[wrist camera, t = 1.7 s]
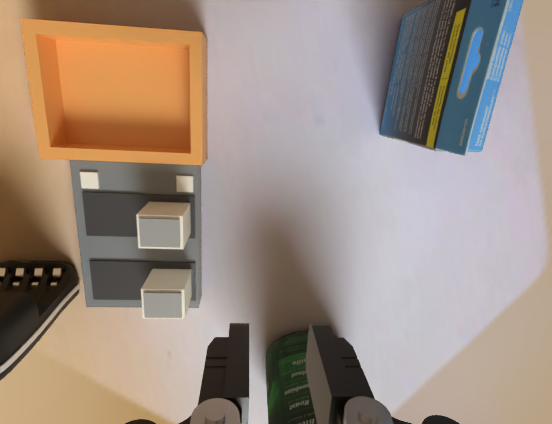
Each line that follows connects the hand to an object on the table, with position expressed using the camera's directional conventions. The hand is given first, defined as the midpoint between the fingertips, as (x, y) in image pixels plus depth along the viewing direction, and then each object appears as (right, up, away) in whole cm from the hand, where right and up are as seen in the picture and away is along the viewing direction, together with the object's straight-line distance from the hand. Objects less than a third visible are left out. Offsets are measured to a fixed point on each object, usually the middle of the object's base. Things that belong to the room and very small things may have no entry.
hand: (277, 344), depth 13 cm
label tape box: (+10, +15, +14) cm, 23 cm away
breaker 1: (-8, +5, +13) cm, 16 cm away
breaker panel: (-11, +3, +16) cm, 20 cm away
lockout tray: (-11, +14, +13) cm, 22 cm away
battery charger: (-20, 0, +17) cm, 26 cm away
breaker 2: (-8, -1, +15) cm, 17 cm away
